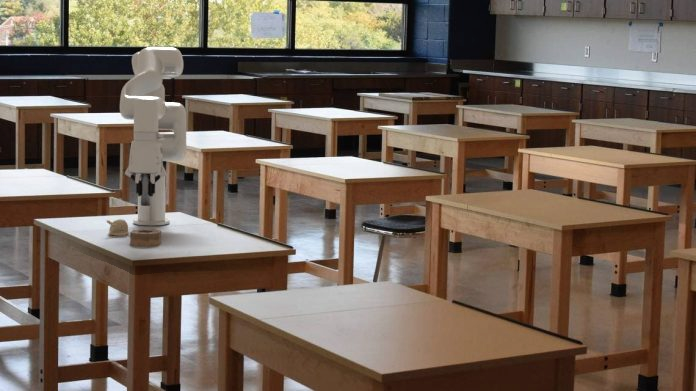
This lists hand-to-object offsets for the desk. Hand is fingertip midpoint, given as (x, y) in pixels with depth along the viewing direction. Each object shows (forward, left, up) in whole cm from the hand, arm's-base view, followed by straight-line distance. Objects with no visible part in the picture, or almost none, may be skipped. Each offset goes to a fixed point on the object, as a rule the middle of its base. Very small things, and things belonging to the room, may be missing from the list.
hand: (145, 195), depth 367 cm
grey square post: (0, 0, -3) cm, 3 cm away
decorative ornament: (-16, -12, -16) cm, 26 cm away
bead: (0, 0, -16) cm, 16 cm away
